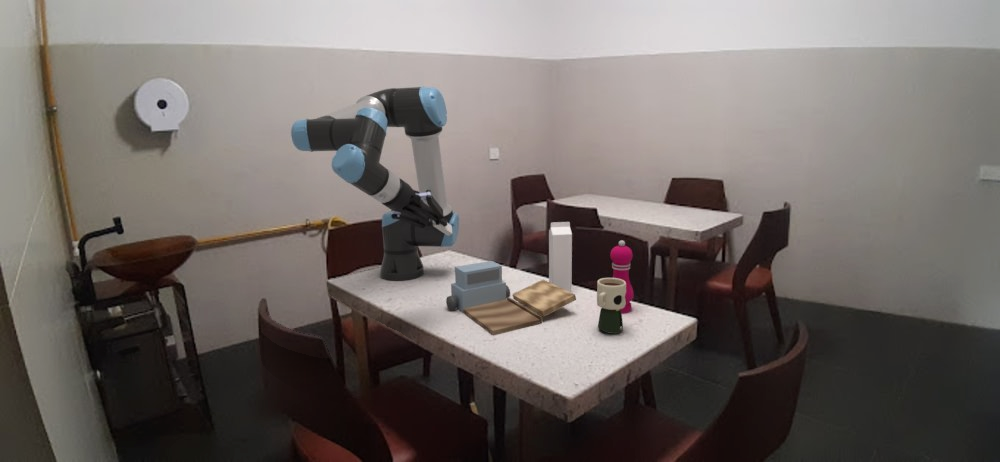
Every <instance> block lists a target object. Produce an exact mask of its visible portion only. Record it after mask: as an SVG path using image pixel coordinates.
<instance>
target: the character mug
mask: <svg viewBox="0 0 1000 462" xmlns="http://www.w3.org/2000/svg"><path fill="white" fill-rule="evenodd" d="M596 287H597V291H596V304H597V307H599V308H600V312H599V317H598V322H597V323H598V324H597V328H598V329H599V330H600V331H604V332H605V333H609V334H617V333H621V331H624V324H623V323H624V322H623V313H622V312H621V309H622V308H624V307H625V304H626V301H625V294H626V282H625V281H624V280H622V279H618V278H613V277H602V278H599V279H598V280H597V285H596Z"/></svg>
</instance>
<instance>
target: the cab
mask: <svg viewBox="0 0 1000 462" xmlns="http://www.w3.org/2000/svg"><path fill="white" fill-rule="evenodd" d="M502 267H503V266H502V265H501V264H499V263H497V262H495V261H494V260H487V261H481V262H476V263H469V264H464V265H463V264H462V265H459V266H458V265H457V266H454V275H455V276H454V277H455V282H452V283H450V290H451V292H450V293H451V295H449V296H446V299H445V301H446V306H447V307H446V308H447V309H448V311H454V310H456V309H458V310H459V311H460V312H461V313H463V309H464V308H469V307H473V306H478V305H483V304H488V303H492V302H497V301H502V300H507V297H509V298H511V291H510V287H509V286H508V285H507V282H505V281H504V280H503V268H502Z"/></svg>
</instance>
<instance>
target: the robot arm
mask: <svg viewBox="0 0 1000 462" xmlns="http://www.w3.org/2000/svg"><path fill="white" fill-rule="evenodd" d="M447 112H448V111H447V105H446V102H445V99H444V97H443V94H442V93H441V91H440V90H439V89H438V88H435V87H426V86H416V87H415V86H414V87H398V88H396V87H391V88H390V87H389V88H385V89H381V90H377V91H375V92H373V93H372V92H371V93H370V94H367V95H364V96H362V97H360V98H359V99H357V101H355V103H354V104H352V105H349V106H347V107H343V108H340V109H338V110H336V111H333V112H330V113H328V114H326V115H322V116H320V117H317V118H312V119H309V118H305V119H298V120H296V121H294V123H293V124H292V127H291V129H290V130H291V131H290V136H291V139H292V140H291V142H292V143H293V145H294V148H296V149H297V150H299V151H302V152H311V153H312V152H334V151H335V155H334V156H333V157H332V160H331V168H332V171H333V172H334V174H336V175H337V176H338V177H340V178H341V179H342V180H343V181H345V182H346V183H348V184H350V185H352V186H354V187H355V188H357V189H358V190H360V191H361V192H363V193H365V194H366V195H368V196H369V197H371V198H373V199H374V200H376V201H377V202H379V203H380V204H382V205H383V206H385V207H386V208H388V209H390V211H387V212H385V213H383V215H382V217H381V229H382V240H383V241H382V244H383V258H382V262H381V266H380V269H379V270H380V278H382V279H384V280H387V281H406V280H407V281H408V280H409V281H410V280H413V279H416V278H419V277H421V276H423V275H424V273H425V269H424V268H425V267H424V265H423V262H422V260H421V257H420V255H419V252H418V249H419V248H418V247H430V248H431V247H432V248H433V247H434V248H438V247H440V248H449V247H453V246H454V245H455V243H456V241H457V238H458V234H459V230H460V229H459V228H460V216H459V214H458V213H457V212H453V207H452V205H451V204H449V203H448V201H447V193H446V184H445V179H444V178H445V177H444V170H443V169H444V168H443V162H442V155H441V154H442V153H441V147H440V146H441V145H440V139H439V136H440V134H441V133H442V132H443V127H444V126H446V124H447V121H448V118H447V117H448V116H447V114H448V113H447ZM387 128H403V129H404V134H405V136H406V137H408V138H409V139H410V141H411V148H412V153H413V154H412V155H413V160H414V165H415V167H414V168H415V173H416V174H415V175H416V180H417V186H418V190H415V189H414V188H412V186H411V185H410V184H409V183H408V182H406V181H405V180H403V179H402V178H400V177H399V176H398V175H396V174H395V173H394V172H392V171H391V170H390V169H387V168H386V167H385V166H384V165H383V164H382V163H380V161H381V156H382V152H383V147H384V143H385V138H386V136H387Z"/></svg>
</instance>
